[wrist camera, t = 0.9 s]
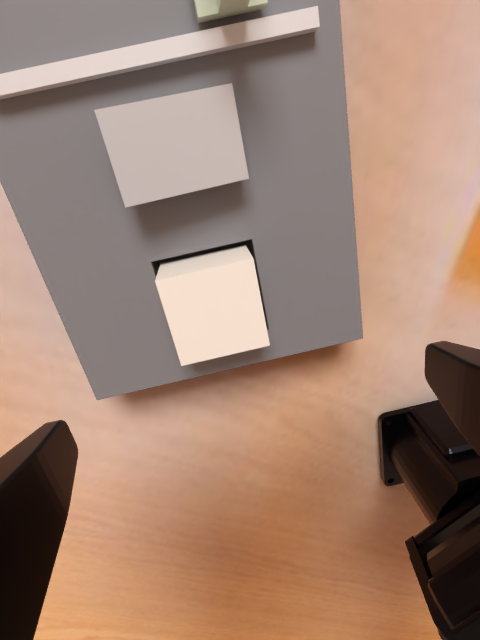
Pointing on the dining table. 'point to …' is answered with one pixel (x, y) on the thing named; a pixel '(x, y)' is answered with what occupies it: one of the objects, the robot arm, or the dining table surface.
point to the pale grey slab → (174, 144)
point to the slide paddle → (225, 8)
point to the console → (191, 208)
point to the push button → (213, 304)
